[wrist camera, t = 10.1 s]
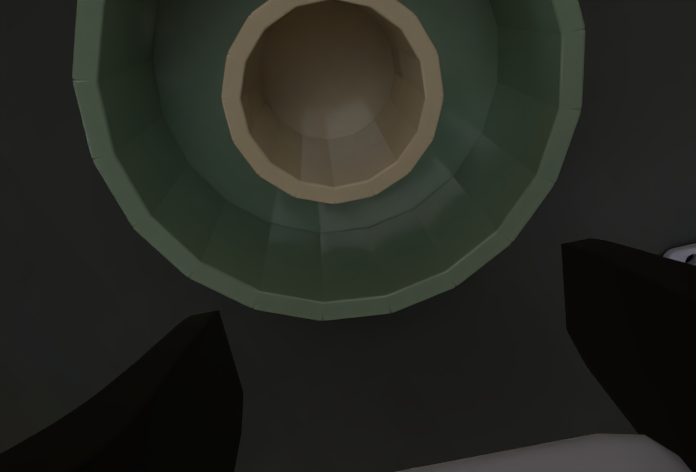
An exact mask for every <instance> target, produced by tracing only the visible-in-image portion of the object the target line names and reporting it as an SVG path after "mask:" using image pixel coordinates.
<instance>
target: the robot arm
mask: <svg viewBox="0 0 696 472" xmlns="http://www.w3.org/2000/svg"><path fill="white" fill-rule="evenodd" d="M561 247H562V263H563V279H564V295H565V311H566V327H567V331H568V333H569V335H570V337H571V339H572V341H573V343H574V345H575V346H576V348H577V350H578V352H579V354H580V355H581V357H582V359H583V361H584V362H585V364H586V366H587V367H588V369H589V370H590V372H591V373H592V374H593V376H594V377H595V378H596V380H597V381H598V382H599V383H600V385H601V386H602V387H603V389H604V390H605V391H606V393H607V394H608V395H609V396H610V398H611V399H612V400H613V402H614V403H615V404H616V405H617V407H618V408H619V409H620V411H621V412H622V413H623V414H624V416H625V417H626V418H627V420H628V421H629V422H630V423H631V425H632V426H633V427H634V428H635V430H636V431H637V432H638V434H639V435H635V434H599V433H597V434H592V435H586V436H581V437H576V438H571V439H565V440H560V441H555V442H549V443H544V444H539V445H534V446H528V447H523V448H518V449H512V450H507V451H502V452H496V453H491V454H486V455H481V456H475V457H470V458H465V459H459V460H454V461H449V462H444V463H438V464H433V465H428V466H422V467H417V468H412V469H407V470H401V471H396V472H696V243H695V244H690V245H685V246H681V247H676V248H672V249H670V250H668V251H667V252H666V253H665V254H664V255H663V257H662V256H659V255H655V254H652V253H648V252H645V251H641V250H638V249H634V248H631V247H627V246H624V245H620V244H616V243H613V242H609V241H604V240H599V239H592V238H590V239H585V240H580V241H575V242H569V243H564V244H561ZM692 254H693V257H692V259H691V260H690V261H689V262H687V263H685V261H686V258H687V257H688V256H689V255H692ZM242 410H243V390H242V387H241V383H240V380H239V376H238V373H237V370H236V366H235V363H234V360H233V356H232V353H231V350H230V346H229V343H228V339H227V336H226V333H225V329H224V326H223V323H222V319H221V316H220V313H219V310H218V311H213V312H208V313H202V314H197V315H192V316H189V317H188V318H186V319H185V320H183V321H182V322H181V323H180V324H178V325H177V326H176V327H175V328H174V329H173V330H171V331H170V332H169V333H168V334H167V335H166V336H165V337H164V338H162V339H161V340H160V341H159V342H158V343H157V344H156V345H155V346H153V347H152V348H151V349H150V350H149V351H148V352H147V353H146V354H144V355H143V356H142V357H141V358H140V359H139V360H138V361H137V362H135V363H134V364H133V365H132V366H131V367H129V368H128V369H127V370H126V371H125V372H123V373H122V374H121V375H120V376H118V377H117V378H116V379H115V380H113V381H112V382H111V383H110V384H109V385H107V386H106V387H105V388H104V389H102V390H101V391H100V392H99V393H97V394H96V395H95V396H93V397H92V398H90V399H89V400H88V401H86V402H85V403H84V404H82V405H81V406H79V407H78V408H76V409H75V410H73V411H72V412H70V413H69V414H67V415H66V416H64V417H63V418H61V419H60V420H58V421H57V422H55V423H53V424H52V425H50V426H49V427H47V428H45V429H43V430H42V431H40V432H38V433H36V434H35V435H33V436H31V437H29V438H28V439H26V440H24V441H22V442H21V443H19V444H17V445H15V446H14V447H12V448H10V449H9V450H7V451H5V452H3V453H1V454H0V472H234V469H235V464H236V458H237V453H238V448H239V443H240V437H241V429H242Z"/></svg>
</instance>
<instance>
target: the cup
mask: <svg viewBox="0 0 696 472" xmlns="http://www.w3.org/2000/svg"><path fill="white" fill-rule="evenodd" d="M443 97H444V90H443V83H442V76H441V69H440V61H439V55H438V54H437V50H436V48H435V46H434V45H433V43H432V41H431V40H430V38H429V36H428V34H427V33H426V31H425V29H424V28H423V26H422V24H421V22H420V21H419V19H418V17H417V16H416V15H414V12H412V11H411V10H410V9H408V8H407V7H406V6H404V5H403V4H401V3H400V2H399V1H397V0H268V1H266V2H265V3H264V4H262V5H261V6H259V7H258V8H257V9H255V10H254V11H253V12H252V13H251V15H249V16H248V17H247V19H246V21H245V23H244V24H243V26H242V28H241V29H240V31H239V33H238V35H237V36H236V38H235V40H234V42H233V43H232V45H231V47H230V48H229V50H228V53H227V55H226V61H225V69H224V77H223V85H222V93H221V98H222V100H221V102H222V105H223V109H224V113H225V116H226V120H227V124H228V127H229V131H230V135H231V138H232V140H233V142H234V144H235V146H236V147H237V148H238V150H239V151H240V152H241V154H242V155H243V156H244V158H245V159H246V160H247V162H248V163H249V164H250V166H251V167H252V168H253V170H254V171H255V172H256V174H258V175H259V176H260V177H261V178H263V179H264V180H266V181H268V182H269V183H271V184H273V185H274V186H276V187H278V188H279V189H281V190H282V191H284V192H286V193H287V194H289V195H291V196H293V197H294V196H295V197H296V198H300V199H306V200H311V201H317V202H323V203H329V204H334V203H335V204H339V203H344V202H349V201H354V200H358V199H363V198H368V197H373V196H374V195H377V194H379V193H380V192H382V191H383V190H385V189H386V188H388V187H389V186H391V185H393V184H394V183H396V182H397V181H399V180H400V179H402V178H403V177H405V176H406V175H408V173H409V172H411V170H412V169H413V168H414V166H415V165H416V163H417V162H418V161H419V159H420V158H421V156H422V155H423V154H424V152H425V151H426V149H427V148H428V147H429V145H430V144H431V142H432V141H433V138H434V137H435V133H436V129H437V125H438V121H439V117H440V113H441V109H442V105H443V101H444V98H443Z"/></svg>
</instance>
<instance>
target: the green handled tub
mask: <svg viewBox="0 0 696 472" xmlns="http://www.w3.org/2000/svg"><path fill="white" fill-rule="evenodd" d="M266 1H268V0H77V12H76V26H75V40H74V55H73V69H72V79H74V80H73V85H74V90H75V94H76V98H77V102H78V106H79V110H80V114H81V118H82V122H83V126H84V130H85V134H86V138H87V142H88V146H89V150H90V154H91V157H92V159H94V160H93V162H94V164H95V166H96V167H97V169H98V171H99V172H100V174H101V176H102V177H103V179H104V181H105V182H106V184H107V186H108V187H109V189H110V191H111V192H112V194H113V196H114V197H115V199H116V201H117V202H118V204H119V205H120V207H121V209H122V210H123V212H124V214H125V215H126V217H127V219H128V220H129V222H130V224H131V225H132V226H133V228H134V229H135V230H136V231H137V232H138V233H139V234H140V235H141V236H142V237H143V238H144V239H146V240H147V241H148V242H149V243H150V244H151V245H152V246H153V247H154V248H155V249H157V250H158V251H159V252H160V253H161V254H162V255H163V256H164V257H165V258H167V259H168V260H169V261H170V262H171V263H172V264H173V265H174V266H175V267H176V268H178V269H179V270H180V271H181V272H182V273H183V274H184V275H185V276H186V277H189V278H190V279H192V280H194V281H196V282H198V283H200V284H202V285H204V286H206V287H209V288H211V289H213V290H215V291H217V292H219V293H221V294H223V295H225V296H227V297H229V298H231V299H233V300H235V301H237V302H240V303H242V304H244V305H246V306H248V307H250V308H254V309H255V310H260V311H266V312H272V313H278V314H283V315H289V316H295V317H301V318H307V319H313V320H318V321H322V319H323V320H324V321H326V320H335V319H344V318H353V317H362V316H372V315H381V314H389V313H390V312H392V313H394V312H396V311H399V310H401V309H404V308H406V307H409V306H411V305H413V304H416V303H418V302H421V301H423V300H426V299H428V298H431V297H433V296H436V295H438V294H440V293H443V292H445V291H448V290H450V289H453V288H455V285H456V286H458V285H459V284H461V283H462V282H463V281H464V280H466V279H467V278H468V277H469V276H471V275H472V274H473V273H475V272H476V271H477V270H478V269H480V268H481V267H482V266H484V265H485V264H486V263H487V262H489V261H490V260H491V259H492V258H494V257H495V256H496V255H498V254H499V253H500V252H501V251H503V250H504V249H505V248H507V247H508V246H509V245H510V244H511V242H513V241H514V240H515V239H516V237H517V236H518V234H519V233H520V232H521V230H522V229H523V228H524V226H525V225H526V223H527V222H528V221H529V219H530V218H531V216H532V215H533V214H534V212H535V211H536V210H537V208H538V207H539V205H540V204H541V203H542V201H543V200H544V199H545V197H546V196H547V194H548V193H549V192H550V190H551V189H552V187H553V186H554V184H555V183H554V182H556V181H557V178H558V175H559V172H560V170H561V167H562V164H563V161H564V158H565V156H566V153H567V150H568V147H569V144H570V142H571V139H572V136H573V133H574V130H575V127H576V125H577V122H578V119H579V116H580V113H581V110H580V109H581V108H582V94H583V73H584V52H585V29H584V28H585V24H584V20H583V17H582V13H581V9H580V5H579V2H578V0H397V1H399V2H400V3H401V4H403V5H404V6H406V7H407V8H408V9H410V10H411V11H412V12H414V15H416V16H417V17H418V19H419V21H420V22H421V24H422V26H423V28H424V29H425V31H426V33H427V34H428V36H429V38H430V40H431V41H432V43H433V45H434V46H435V48H436V50H437V54H438V55H439V61H440V69H441V76H442V83H443V90H444V97H443V98H444V101H443V105H442V109H441V113H440V117H439V121H438V125H437V129H436V133H435V137H434V138H433V141H432V142H431V144H430V145H429V147H428V148H427V149H426V151H425V152H424V154H423V155H422V156H421V158H420V159H419V161H418V162H417V163H416V165H415V166H414V168H413V169H412V170H411V172H409V173H408V175H406V176H405V177H403V178H402V179H400V180H399V181H397V182H396V183H394V184H393V185H391V186H389V187H388V188H386V189H385V190H383V191H382V192H380V193H379V194H377V195H374V196H373V197H368V198H363V199H358V200H354V201H349V202H344V203H339V204H335V203H334V204H329V203H323V202H317V201H311V200H306V199H300V198H296V197H295V196H294V197H293V196H291V195H289V194H287V193H286V192H284V191H282V190H281V189H279V188H278V187H276V186H274V185H273V184H271V183H269V182H268V181H266V180H264V179H263V178H261V177H260V176H259V175H258V174H256V172H255V171H254V170H253V168H252V167H251V166H250V164H249V163H248V162H247V160H246V159H245V158H244V156H243V155H242V154H241V152H240V151H239V150H238V148H237V147H236V146H235V144H234V142H233V140H232V138H231V135H230V131H229V127H228V124H227V120H226V116H225V113H224V109H223V105H222V102H221V100H222V98H221V93H222V85H223V77H224V69H225V61H226V55H227V53H228V50H229V48H230V47H231V45H232V43H233V42H234V40H235V38H236V36H237V35H238V33H239V31H240V29H241V28H242V26H243V24H244V23H245V21H246V19H247V17H248V16H249V15H251V13H252V12H253V11H254V10H255V9H257V8H258V7H259V6H261V5H262V4H264V3H265V2H266Z"/></svg>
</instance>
